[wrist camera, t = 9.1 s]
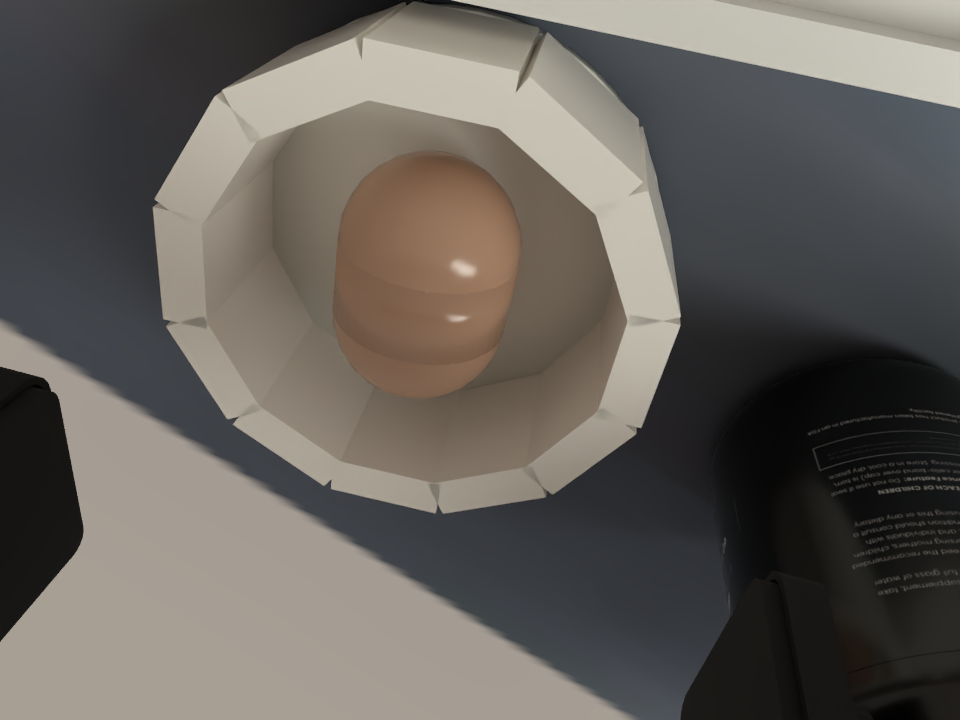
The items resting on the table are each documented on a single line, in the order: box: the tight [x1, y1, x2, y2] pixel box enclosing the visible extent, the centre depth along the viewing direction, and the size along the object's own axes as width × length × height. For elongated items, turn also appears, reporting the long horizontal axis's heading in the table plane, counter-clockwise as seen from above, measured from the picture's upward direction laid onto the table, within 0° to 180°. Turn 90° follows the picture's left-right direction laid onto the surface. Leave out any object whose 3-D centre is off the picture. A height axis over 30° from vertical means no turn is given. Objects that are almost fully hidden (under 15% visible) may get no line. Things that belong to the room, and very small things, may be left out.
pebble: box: [333, 150, 522, 399], centre depth 15 cm, size 5×4×4 cm
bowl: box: [153, 1, 681, 514], centre depth 16 cm, size 10×10×4 cm
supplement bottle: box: [711, 358, 960, 720], centre depth 14 cm, size 7×7×12 cm
